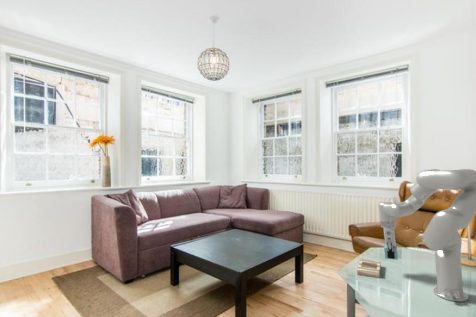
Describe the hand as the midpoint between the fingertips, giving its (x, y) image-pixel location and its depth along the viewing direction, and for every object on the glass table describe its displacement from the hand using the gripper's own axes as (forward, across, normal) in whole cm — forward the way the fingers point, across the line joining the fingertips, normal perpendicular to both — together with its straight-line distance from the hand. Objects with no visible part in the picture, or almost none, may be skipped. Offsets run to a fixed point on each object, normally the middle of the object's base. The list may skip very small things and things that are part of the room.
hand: (391, 256), depth 147 cm
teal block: (+1, 0, 0) cm, 1 cm away
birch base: (+10, +1, +12) cm, 15 cm away
